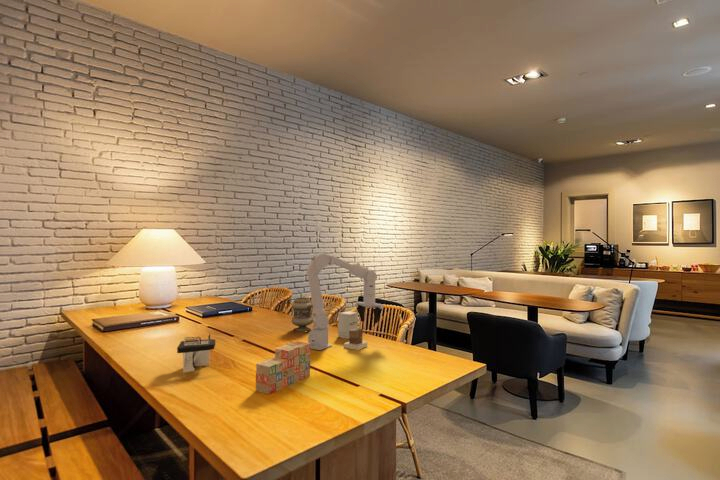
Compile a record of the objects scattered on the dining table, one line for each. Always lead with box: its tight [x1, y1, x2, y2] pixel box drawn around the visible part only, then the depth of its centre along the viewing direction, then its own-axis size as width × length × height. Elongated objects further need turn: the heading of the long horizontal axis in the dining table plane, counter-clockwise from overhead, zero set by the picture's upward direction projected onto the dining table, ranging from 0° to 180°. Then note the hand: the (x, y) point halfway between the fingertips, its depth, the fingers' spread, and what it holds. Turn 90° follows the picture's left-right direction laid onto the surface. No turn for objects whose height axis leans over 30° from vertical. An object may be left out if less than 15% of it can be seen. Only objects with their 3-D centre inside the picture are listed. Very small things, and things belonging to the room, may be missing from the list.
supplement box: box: [337, 311, 358, 340], centre depth 206 cm, size 7×7×13 cm
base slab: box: [343, 340, 368, 351], centre depth 187 cm, size 8×8×2 cm
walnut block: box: [348, 328, 363, 344], centre depth 187 cm, size 4×4×6 cm
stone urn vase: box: [291, 296, 314, 333], centre depth 220 cm, size 12×12×18 cm
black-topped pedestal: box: [176, 333, 216, 374], centre depth 154 cm, size 28×26×13 cm
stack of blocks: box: [255, 341, 311, 395], centre depth 140 cm, size 21×6×12 cm, turn 149°
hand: (369, 322), depth 193 cm, fingers open, 7 cm apart
